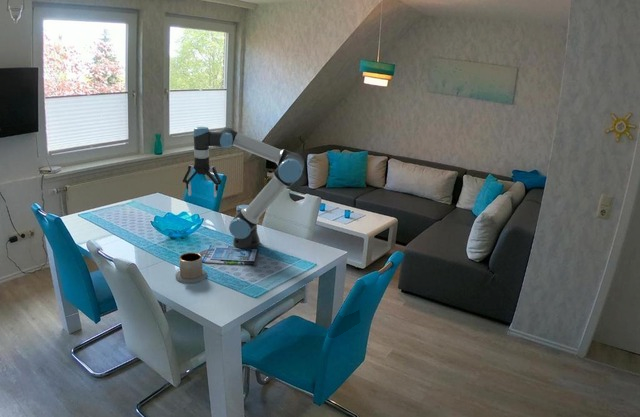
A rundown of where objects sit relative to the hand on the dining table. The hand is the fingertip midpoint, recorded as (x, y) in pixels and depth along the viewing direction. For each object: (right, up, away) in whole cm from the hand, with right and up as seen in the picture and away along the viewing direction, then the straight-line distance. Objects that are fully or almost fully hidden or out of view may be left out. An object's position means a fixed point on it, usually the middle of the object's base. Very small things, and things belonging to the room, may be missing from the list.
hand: (202, 195), depth 267 cm
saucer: (-1, -40, -20) cm, 45 cm away
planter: (-1, -40, -20) cm, 44 cm away
